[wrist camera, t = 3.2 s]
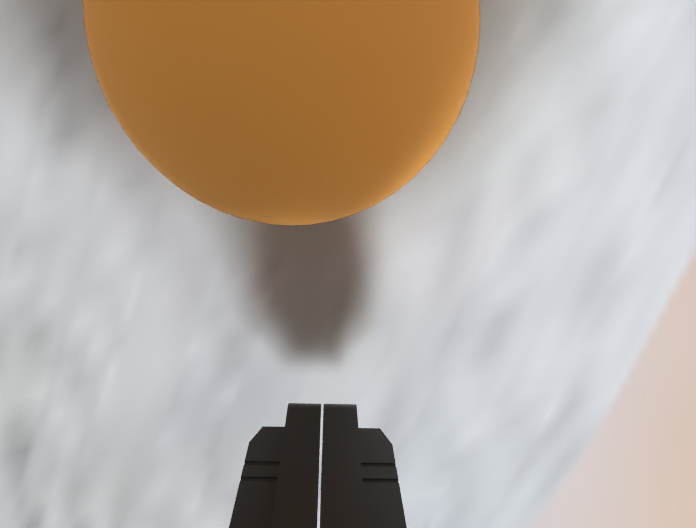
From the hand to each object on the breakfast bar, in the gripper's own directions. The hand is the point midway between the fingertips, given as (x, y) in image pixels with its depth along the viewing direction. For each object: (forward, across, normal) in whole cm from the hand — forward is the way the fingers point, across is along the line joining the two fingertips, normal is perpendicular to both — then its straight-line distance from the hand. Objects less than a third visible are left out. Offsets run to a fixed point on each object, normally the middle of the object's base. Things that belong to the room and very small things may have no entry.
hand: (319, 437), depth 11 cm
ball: (-1, +1, -8) cm, 8 cm away
